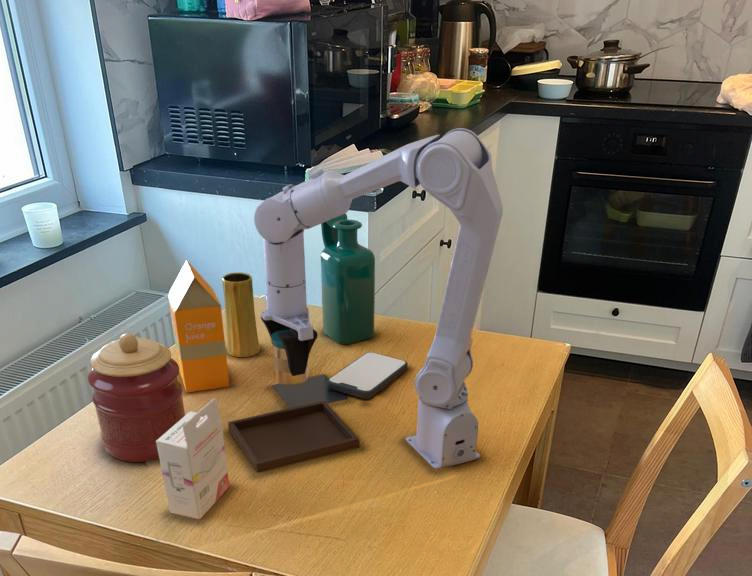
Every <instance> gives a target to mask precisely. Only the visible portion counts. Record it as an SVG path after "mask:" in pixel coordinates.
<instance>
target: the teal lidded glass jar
mask: <svg viewBox="0 0 752 576" xmlns="http://www.w3.org/2000/svg"><path fill="white" fill-rule="evenodd" d="M287 331H291V329H283V330H279V331H276V332H274V333H273V334H272V335H271V337H270V341H271V345H272V359H273V361H272V362H273V373H274V380H275V381H276V382H277V384H279V383H280V384H284V385H297V384H301V383H303V382H305V381H306V380H307V379H308V377H309V366H308V365H309V362H307V367H306V371H305V374H301V375H296V376H292V375H291V373H290V370H289V365H288V360H287V355H286V352H285V349H284V346H283V344H282V342H281V340H280V338H279V337H278V333H281V332H287Z"/></svg>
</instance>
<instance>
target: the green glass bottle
mask: <svg viewBox="0 0 752 576" xmlns="http://www.w3.org/2000/svg"><path fill="white" fill-rule="evenodd" d="M347 215H348V214H347V213H345V214H343V215H340V216H338V217H336V218H333V219H331V220H329V221H326V222H324V223H321V224H320V226H321V237H322V242H323V246H324V248H323V249H322V251H321V253H320V277H321V278H320V279H321V283H320V284H321V308H322V310H321V313H322V332H323V334H324V335H326V336H327V337H328V338H330V339H331V340H333V342H336V343H337V344H340V345H350V344H354V343H358V342H361V341H362V342H363V341H366V340H370V339H372V338H373V337H374V335H375V311H376V310H375V309H376V308H375V307H376V306H375V304H376V303H375V302H376V301H375V300H376V298H375V296H376V295H375V293H376V257H375V254H374V252H373V251H372V250H371V249H370V248H368V247H365V246H363V245H361V244H359V241H358V230H359V229H361V228H362V227H363V224H362V222H361V221H358V220H355V219H348V216H347Z"/></svg>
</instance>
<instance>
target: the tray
mask: <svg viewBox="0 0 752 576" xmlns="http://www.w3.org/2000/svg"><path fill="white" fill-rule="evenodd" d="M227 424H228V431H229V432H230V434H231V436H232V437H233V439H234V440H235V442H236V443H237V445H238V446H239V447H240V449H241V451H242V452H243V454H244V455H245V457H246V458H247V460H248V461H249V463H250V464H251V466H252V467H253V469H254V471H255V472H256V473H261V472H265V471H268V470H273V469H277V468H281V467H286V466H289V465H294V464H296V463H301V462H305V461H309V460H313V459H317V458H320V457H325V456H329V455H333V454H336V453H341V452H344V451H348V450H352V449H353V450H354V449H357V448H360V437H358V435H356V434H355V432H354V431H353V430H352V429H351V428H350V427H349V425H348V424H347V423H346V422H345V421H344V420H343V419H342V418H341V416H339V415H338V414H337V412H335V410H334V409H333V408H332V407H331V406H330V405H329V403H326V402H325V401H320V402H316V403H311V404H307V405H302V406H298V407H293V408H289V407H288V408H284V409H281V410H280V409H279V410H276V411H271V412H267V413H262V414H258V415H253V416H249V417H245V418H240V419H236V420H231V421H228V422H227Z"/></svg>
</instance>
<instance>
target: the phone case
mask: <svg viewBox="0 0 752 576" xmlns="http://www.w3.org/2000/svg"><path fill="white" fill-rule="evenodd" d="M408 364H409V363H408V362H407V361H406V360H404V359H400V358H397V357H393V356H389V355H385V354H381V353H377V352H373V351H367V352H365V353H364V354H362V355H361V356H359V357H358V358H356V359H355V360H354V361H351V362H350V364H347V365H346V366H344V367H343V368H342V369H340V370H339V371H338V372H336V373H335V374H333V375H332V376H331V377H328V378H329V379H328V380H327V387H328V388H329V389H332V390H335V391H339V392H342V393H343V394H346V395H350V396H353V397H356V398H359V399H364V400H366V399H372V398H373V397H374V396H376V395H377V394H378V393H379V392H381V390H383V389H384V388H386V387H387V386H388V385H389V384H390V383H392V382H393V381H395V379H397V378H398V377H400V376H401V375H402V374H403V373H404V372H406V371H407V370H408V367H409V365H408Z"/></svg>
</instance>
